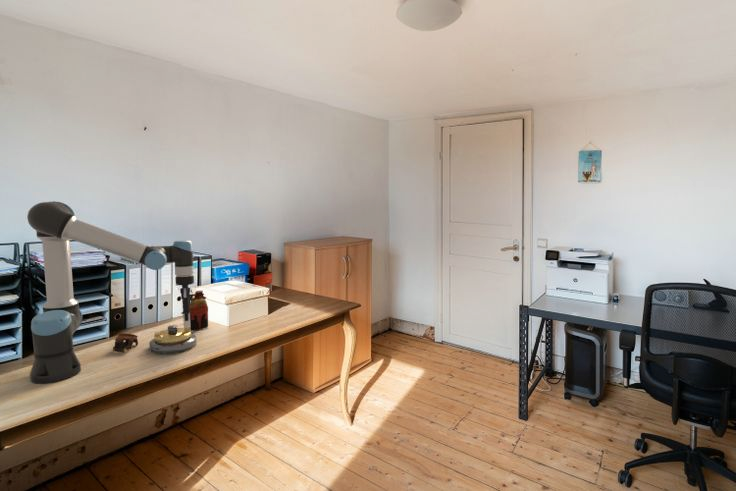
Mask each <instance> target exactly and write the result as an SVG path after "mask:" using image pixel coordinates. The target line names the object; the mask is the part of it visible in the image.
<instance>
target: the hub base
mask: <svg viewBox="0 0 736 491" xmlns="http://www.w3.org/2000/svg"><path fill="white" fill-rule="evenodd" d="M178 328H179V327H178V325H175V324H173V325H169V326H167V329H168V334H176V333H178ZM196 345H197V336H196V334H195V333H191V339H189V340H188V341H186V342H183V343H179V344H174V345H158V344H156V343H155V342H154V338H152V339H151V340H150V341H149V351H150V352H151V353H152V354H155V355H174V354H175V355H176V354H178V353H179V354H180V353H182V352H186V351H189V350H191V349H193V348H195V347H196Z"/></svg>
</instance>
